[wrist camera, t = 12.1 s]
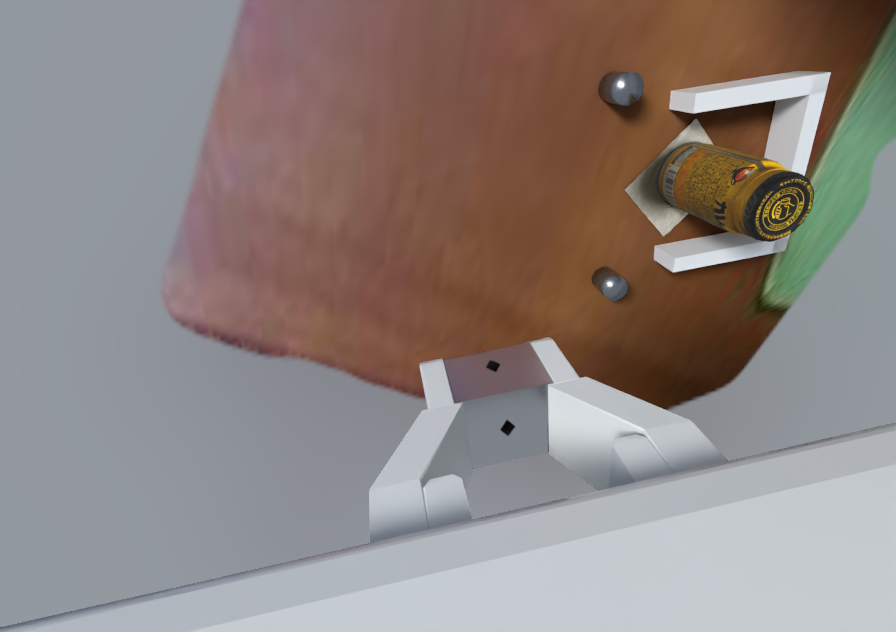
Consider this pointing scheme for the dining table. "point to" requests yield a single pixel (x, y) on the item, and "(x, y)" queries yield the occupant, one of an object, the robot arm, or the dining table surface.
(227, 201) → the dining table surface
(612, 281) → the cylinder
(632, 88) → the cylinder
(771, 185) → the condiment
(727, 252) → the holder
